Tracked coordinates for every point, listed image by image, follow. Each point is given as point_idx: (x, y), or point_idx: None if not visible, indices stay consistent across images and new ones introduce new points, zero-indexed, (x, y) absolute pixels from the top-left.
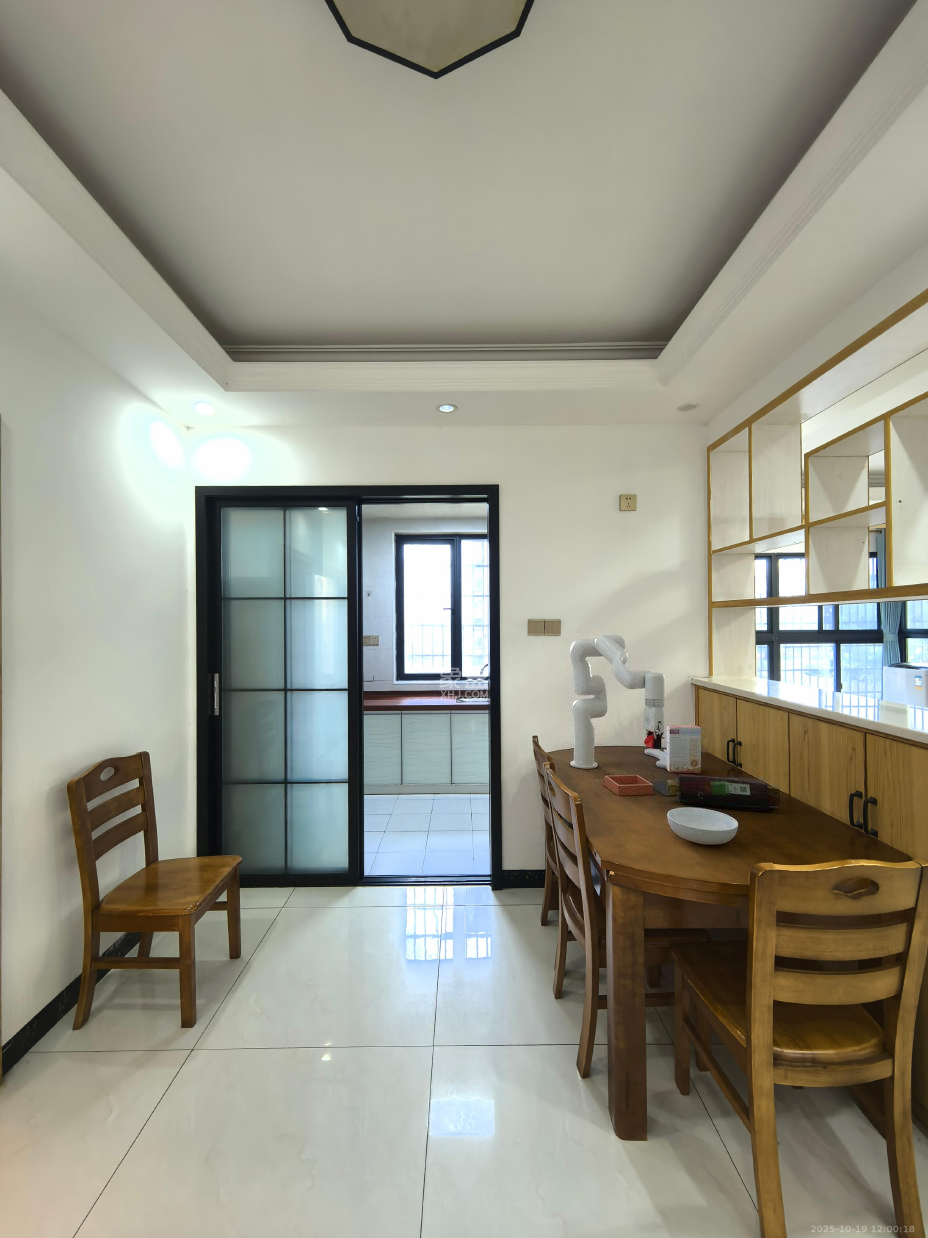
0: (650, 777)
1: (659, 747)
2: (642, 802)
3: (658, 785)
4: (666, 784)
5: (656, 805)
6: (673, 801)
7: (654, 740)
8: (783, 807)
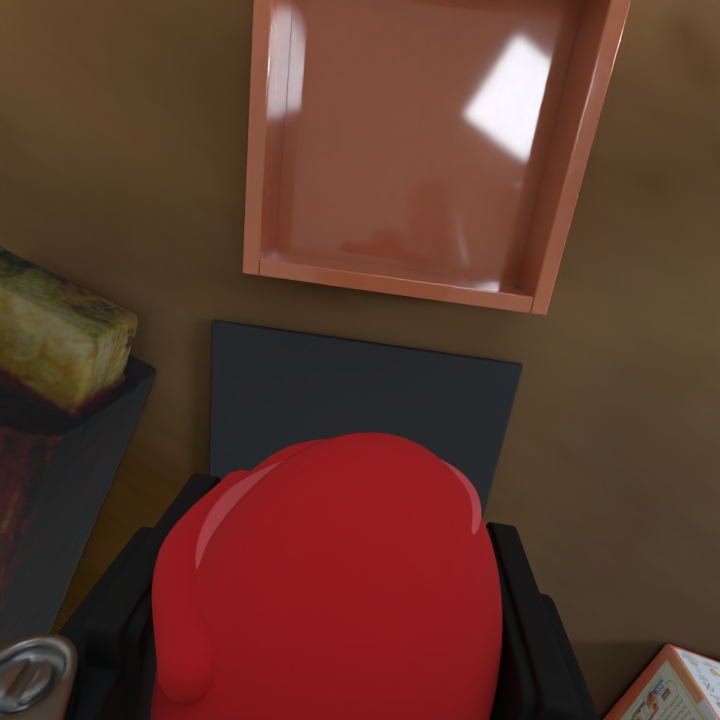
0: (633, 481)
1: None
2: (98, 64)
3: (423, 409)
4: None
5: (29, 134)
6: None
7: (105, 606)
8: None
